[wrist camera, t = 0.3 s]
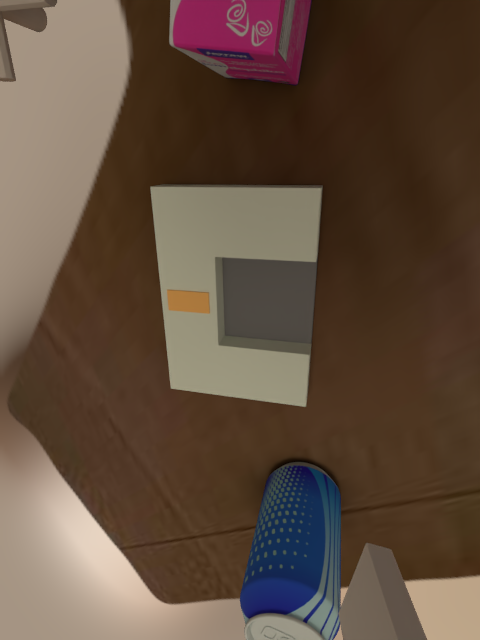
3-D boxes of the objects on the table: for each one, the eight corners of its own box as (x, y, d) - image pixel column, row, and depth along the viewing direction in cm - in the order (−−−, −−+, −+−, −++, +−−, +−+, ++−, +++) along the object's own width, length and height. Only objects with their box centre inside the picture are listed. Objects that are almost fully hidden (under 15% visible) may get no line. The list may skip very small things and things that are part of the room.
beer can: (316, 447, 41) (303, 602, 27) (354, 501, 43) (360, 673, 29) (254, 468, 45) (213, 616, 30) (291, 518, 46) (269, 679, 32)
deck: (322, 185, 31) (321, 188, 28) (307, 392, 39) (305, 408, 36) (162, 184, 34) (149, 186, 31) (179, 375, 42) (170, 389, 39)
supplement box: (225, 81, 29) (163, 44, 19) (234, -16, 27) (168, -118, 17) (298, 90, 28) (274, 55, 18) (315, -10, 26) (298, -115, 16)
